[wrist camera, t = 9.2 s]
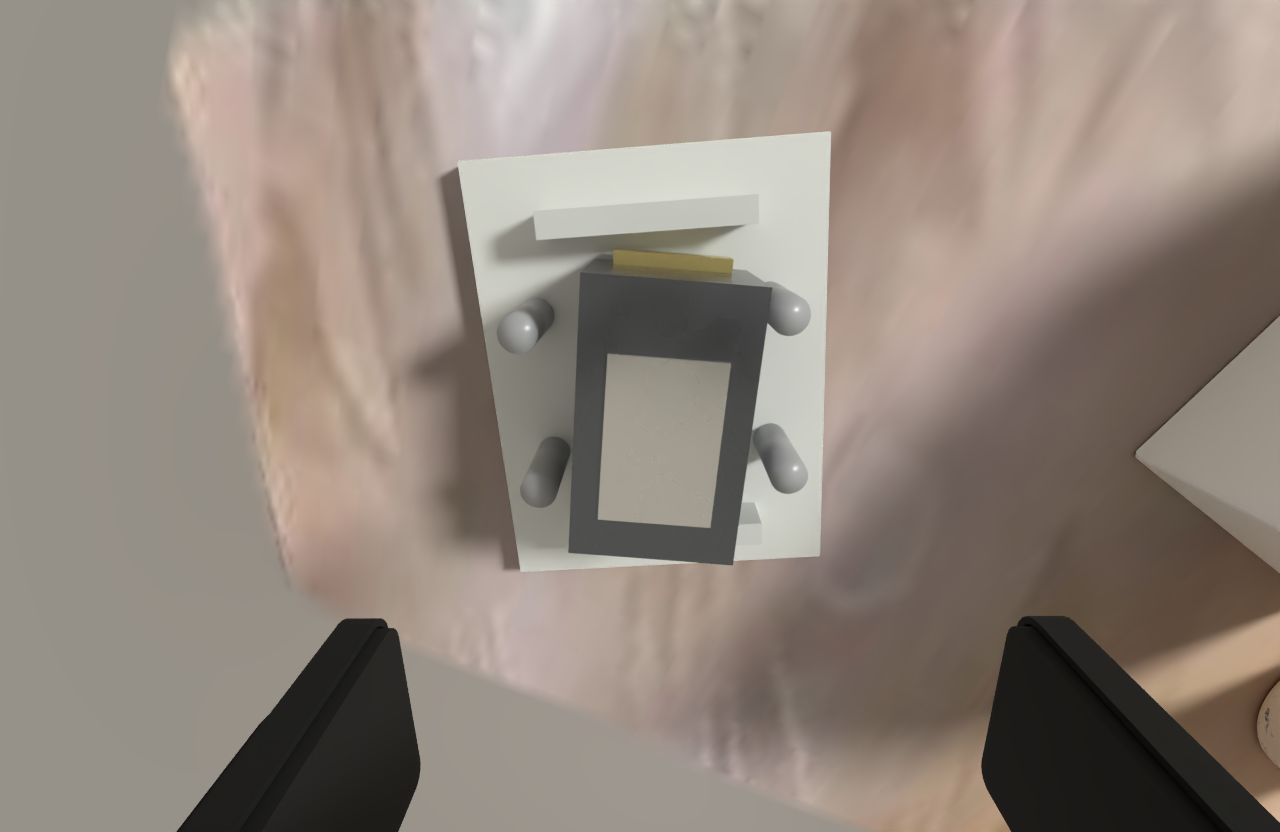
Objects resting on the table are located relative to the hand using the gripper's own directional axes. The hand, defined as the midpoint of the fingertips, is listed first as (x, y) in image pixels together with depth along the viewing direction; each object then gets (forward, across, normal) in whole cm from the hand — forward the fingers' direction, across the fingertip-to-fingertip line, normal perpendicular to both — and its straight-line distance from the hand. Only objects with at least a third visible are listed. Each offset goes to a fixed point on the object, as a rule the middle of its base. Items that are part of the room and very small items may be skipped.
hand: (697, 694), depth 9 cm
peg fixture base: (+18, +1, 0) cm, 18 cm away
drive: (+17, 0, 0) cm, 17 cm away
